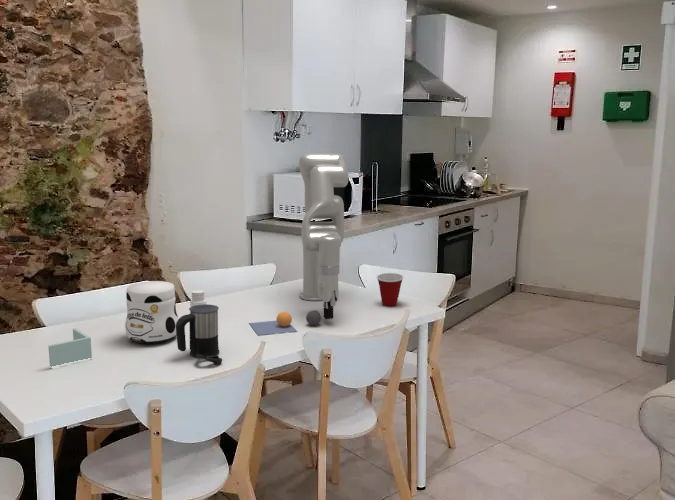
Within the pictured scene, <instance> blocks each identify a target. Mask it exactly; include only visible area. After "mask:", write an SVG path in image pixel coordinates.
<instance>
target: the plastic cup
mask: <svg viewBox="0 0 675 500" xmlns="http://www.w3.org/2000/svg"><path fill="white" fill-rule="evenodd" d="M404 278H405V277H404V275H403V274H400V273H396V272H384V273H380V274H378V275H376V279H377V282H378V285H379V286H378V287H379V293H380V298H381V300H380V301H381V304H382V306H384V307H388V308H389V307H396V306H397V304H398V299H399V295H400V292H401V285H402V282H403V279H404Z"/></svg>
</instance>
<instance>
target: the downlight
mask: <svg viewBox="0 0 675 500" xmlns="http://www.w3.org/2000/svg"><path fill="white" fill-rule="evenodd" d="M205 294H206V293H205V290H201V289H200V290H198V289H197V290H192V291H191V299H190V300H189V305H190V307H192V306H195V305H204V304H207V300H206V299H205ZM190 307H189V308H190Z"/></svg>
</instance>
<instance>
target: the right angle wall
mask: <svg viewBox="0 0 675 500" xmlns="http://www.w3.org/2000/svg"><path fill="white" fill-rule="evenodd" d="M72 336H73V337H72V338H73V340H69V341H63V342H60V343H59V342H58V343H53V344H50V345H48V346H47V347H48V358H49V367H50V366H51V367H52V366H56V365H61V364H64V363H69V362H74V361H78V360H83V359H88V358H92V359H93V353H92V339H91V336H89V335H87V334H86V333H84V332H82V331H81V330H79V329H78V328H76V327H74V328H72Z"/></svg>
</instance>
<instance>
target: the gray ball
mask: <svg viewBox="0 0 675 500" xmlns="http://www.w3.org/2000/svg"><path fill="white" fill-rule="evenodd" d="M305 318H306V322H307V324H308V325H311V326H317V325H319V324H320V323H321V321H322V315H321V313H320V312H319V311H318V310H314V309H313V310H310V311H309V312H308V313H307V314H306V316H305Z"/></svg>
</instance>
